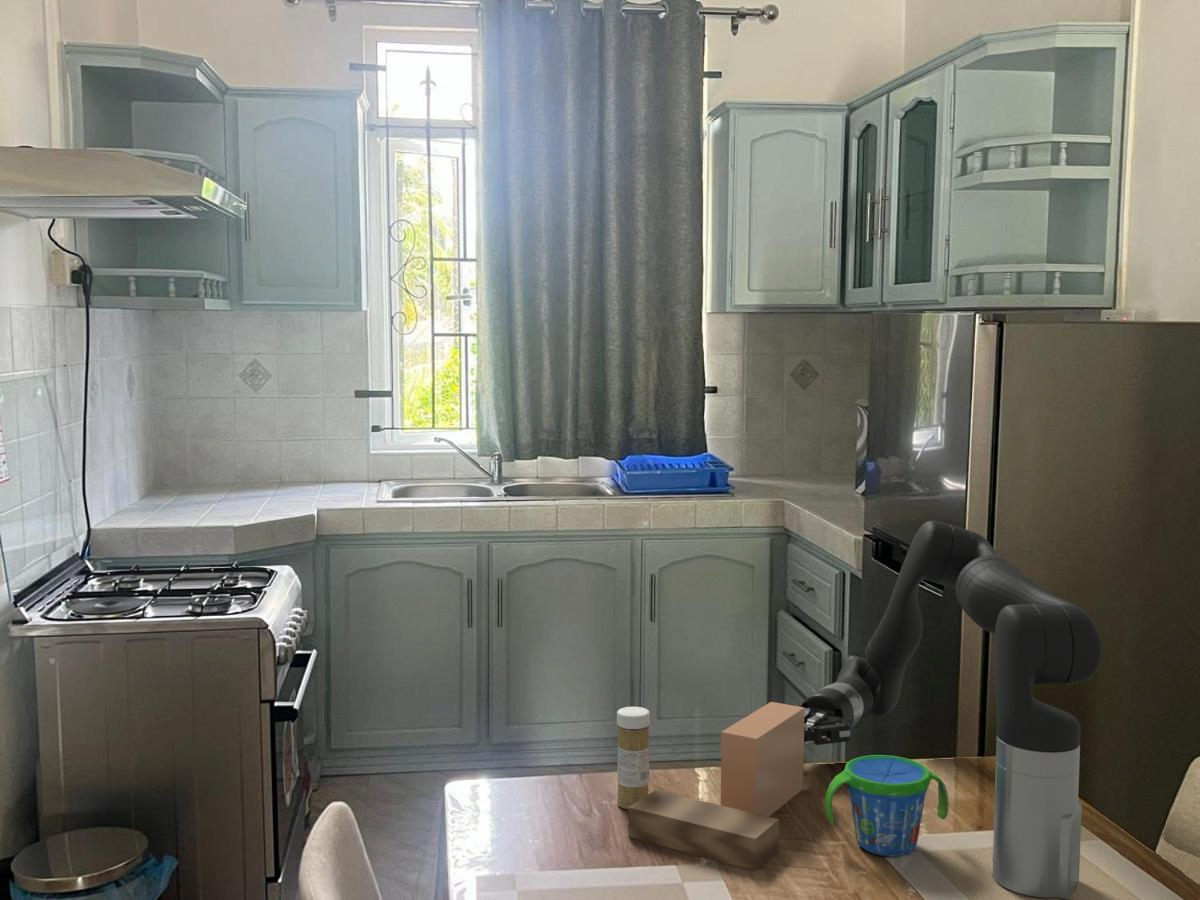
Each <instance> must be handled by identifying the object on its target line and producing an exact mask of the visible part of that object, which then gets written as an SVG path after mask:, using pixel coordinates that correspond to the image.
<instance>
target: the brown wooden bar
mask: <svg viewBox="0 0 1200 900" xmlns="http://www.w3.org/2000/svg"><path fill="white" fill-rule="evenodd" d="M627 810H628V813H627V814H628V815H627V816H628V818H627V819H628V821H627V827H628V828H627V830H628V831H627V832H628V833H627V834H628V835H627V837H628V838H630V839H634V840H638V841H642V842H645V843H648V844H652V845H656V846H660V847H664V848H668V849H672V850H675V851H679V852H683V853H686V854H692V855H694V856H697V857H702V858H706V859H710V860H713V861H716V862H721V863H725V864H728V865H731V866H732V865H733V866H735V867H740V868H743V869H747V870H751V871H754V872H755V871H757V869H759V868H760V867H761V866H762V865H763V864H765V863H766V862H767V861H768V860H769V859H770V858H772V857H773V855H775V854H776V853H777V852H778V851H779V850H780V849H779V847H780V841H779V840H780V819H779V818H775V817H771V816H769V817H768V816H763V815H759V814H755V813H751V812H746V811H742V810H738V809H734V808H729V807H725V806H721V804H716V803H712V802H708V801H704V800H699V799H695V798H691V797H686V796H683V795H679V794H678V795H677V794H673V793H669V792H665V791H662V790H656V789H655V790H653V791H652V792H650V793H648V795H647V796H645V797H644V798H642V799H641V800H639V801H637V802H636V803H634V804H633V805H631V806H630V807H628V809H627Z"/></svg>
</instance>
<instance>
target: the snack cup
mask: <svg viewBox="0 0 1200 900" xmlns="http://www.w3.org/2000/svg"><path fill="white" fill-rule="evenodd" d="M844 766H845V767H844V770H842V771H841V772H839V773H838V774H837V775H834V778H833V779H832V780H831V782H830V783H829V786H828V788H827V790H826V795H825V800H824V810H825V815H826V818H827V820H828V822H829V823H830V824H831V825H832V826H833V825H835V819H834V811H833V810H834V809H833V807H834V806H833V803H832V802H833V797H834V794H835V793H836V792H837V791H838V790H839V788H841V786H842V785H844V784H846V787H847V790H848V794H849V798H850V799H849V800H850V804H851V815H852V819H853V820H852V821H853V827H854V829H853V830H854V835H855V838H856V843H857V845H858V846H859V847H860V848H863V849H864V850H866V851H867V852H870V853H872V854H874V855H878V856H882V857H886V856H887V857H898V856H902V855H910V854H912V852H913V851H914V850H915V848H916V847H917V845H918V840H919V836H920V835H919V834H920V830H921V823H922V819H923V811H924V806H925V799H926V795H927V791H928V789H929V787H930V784H931V783H930V782H931V781H932V780H934V781H936V782H937V791H938V792H937V793H938V795H937V796H938V804H937V809H936V810H937V813H936V814H937V816H938V817H939V818H940V819H941V820H945V819H947V818H948V814H949V809H950V808H949V795H948V789H947V787H946V785H945V783H944V782H943V780H942V779H941V778H940V777H939V776H938V775H937V774H936V773H935V772H934V771H932V770H930V769H928V768H927V766H925V765H923V764H922V763H921V762H919V761H916V760H913V759H910V758H908V757H907V758H906V757H901V756H896V755H890V754H889V755H888V754H887V755H886V754H871V755H870V754H869V755H864V756H858V757H856V758H853V759H850V760H849V761H848V762H846V764H845V765H844Z"/></svg>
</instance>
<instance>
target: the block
mask: <svg viewBox="0 0 1200 900" xmlns="http://www.w3.org/2000/svg"><path fill="white" fill-rule="evenodd" d="M720 735H721V737H720V739H721V740H720V741H721V742H720V743H721V745H720V805H721V806H725V807H729V808H734V809H738V810H742V811H746V812H751V813H755V814H759V815H763V816H768V817H771V816H772V815H773V814H774V813H775V812H776V811H778V810H779V809H781V807H783V806H784V805H785V804H787V803H788V802H789V801H790V800H791V799H793V798H794V797H795V796H796V795H798V794H799V793H801V792H802V790H804V773H805V771H804V770H805V769H804V767H805V766H804V765H805V763H804V762H805V761H804V760H805V759H804V758H805V757H804V756H805V744H804V707H801V706H799V705H792V704H786V703H781V702H776V701H775V702H774V701H770V702H768V703H767V704H765V705H763V706H761V707H760V708H758V709H757V710H755V711H754V712H752V713H749V714H748V715H747V716H745V717H744V718H742V719H740V720H739V721H737V722H735V723H734V724H732V725H730V726H728V727H727V728H725V729H724V730H722V731H721V733H720Z"/></svg>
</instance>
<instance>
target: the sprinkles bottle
mask: <svg viewBox="0 0 1200 900" xmlns="http://www.w3.org/2000/svg"><path fill="white" fill-rule="evenodd" d="M650 716H651V714H650V711H649V709H647V708H645V707H641V706H626V707H622V708H620V709H618V710H617V711H616V725H617V728H618V729H617V800H616V801H617V805H618V806H619V807H620V808H623V809H625V810H628V807H630V806H631V805H633V804H634V803H636V802H637V801H639V800H641V799H642V798H644V797H645V796H647V795H648V794H649V784H650V745H649V744H650V743H649V737H650V736H649V733H650V732H649V731H650V729H649V728H650V725H651V723H650V722H651V717H650Z"/></svg>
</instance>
